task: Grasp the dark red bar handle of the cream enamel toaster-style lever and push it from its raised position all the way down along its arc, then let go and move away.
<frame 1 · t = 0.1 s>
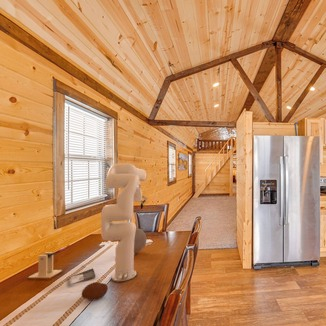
hand: (134, 209, 176), 31 cm above the table, tool pointing down, fingers open, 9 cm apart
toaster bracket: (45, 275, 134), on the table
planter: (132, 253, 168), on the table
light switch: (81, 279, 130), on the table
lever: (53, 253, 134), point 13 cm above the table, hinge at 25.0°
potato: (94, 298, 112), on the table
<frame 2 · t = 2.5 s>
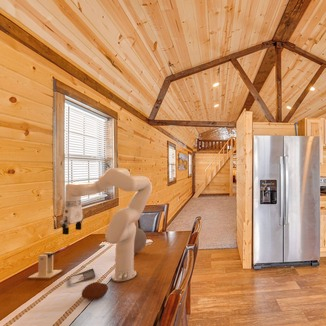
hand: (72, 231, 139), 24 cm above the table, tool pointing down, fingers open, 9 cm apart
nothing on the table moved.
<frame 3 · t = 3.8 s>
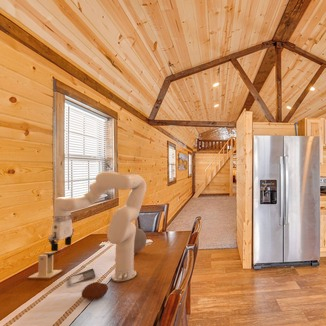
hand: (61, 247, 134), 16 cm above the table, tool pointing down, fingers open, 9 cm apart
nothing on the table moved.
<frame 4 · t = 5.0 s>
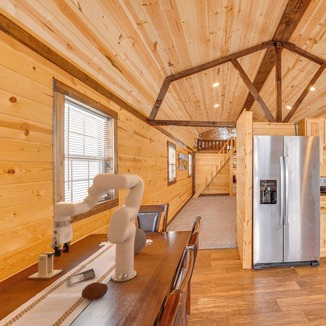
hand: (61, 254, 134), 13 cm above the table, tool pointing down, fingers closed on lever, 5 cm apart
lever: (53, 253, 134), point 13 cm above the table, hinge at 25.0°, touching gripper
everything else where it was.
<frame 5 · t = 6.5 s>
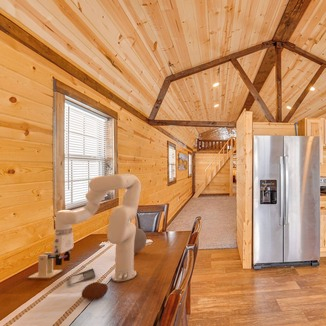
hand: (62, 262, 134), 8 cm above the table, tool pointing down, fingers closed on lever, 5 cm apart
lever: (54, 257, 134), point 11 cm above the table, hinge at -1.4°, touching gripper
everything else where it was.
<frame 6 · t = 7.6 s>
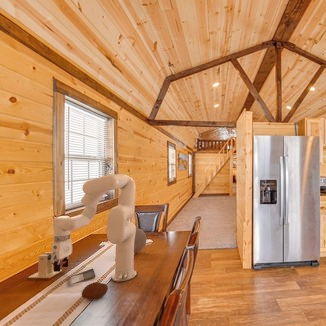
hand: (61, 268, 134), 4 cm above the table, tool pointing down, fingers closed on lever, 5 cm apart
lever: (53, 260, 134), point 9 cm above the table, hinge at -22.0°, touching gripper
everything else where it was.
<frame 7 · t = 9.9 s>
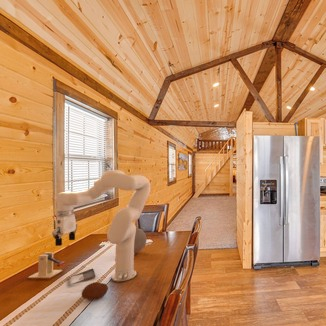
hand: (65, 242, 134), 19 cm above the table, tool pointing down, fingers open, 9 cm apart
lever: (53, 260, 134), point 9 cm above the table, hinge at -22.3°
everything else where it was.
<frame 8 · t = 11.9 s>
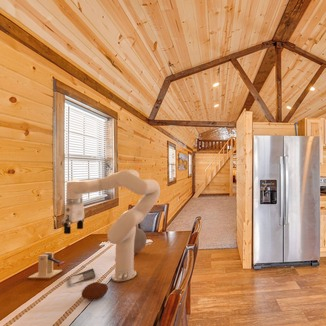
hand: (73, 231, 134), 26 cm above the table, tool pointing down, fingers open, 9 cm apart
nothing on the table moved.
at the end: lever at -22° (first picture: +25°); the gripper is holding nothing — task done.
